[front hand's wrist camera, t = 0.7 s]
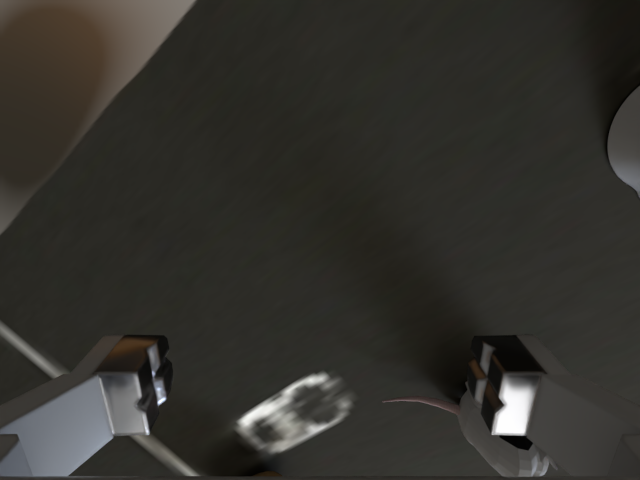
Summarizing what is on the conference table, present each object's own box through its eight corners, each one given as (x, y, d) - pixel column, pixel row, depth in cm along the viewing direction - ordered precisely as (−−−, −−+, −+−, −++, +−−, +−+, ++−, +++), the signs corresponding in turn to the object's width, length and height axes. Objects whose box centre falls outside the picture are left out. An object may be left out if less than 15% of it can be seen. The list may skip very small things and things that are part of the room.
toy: (517, 422, 64) (569, 515, 50) (374, 406, 63) (387, 496, 49) (534, 378, 61) (596, 465, 47) (384, 361, 60) (401, 444, 46)
